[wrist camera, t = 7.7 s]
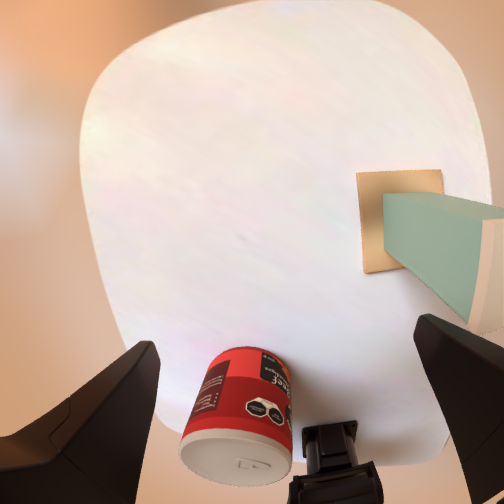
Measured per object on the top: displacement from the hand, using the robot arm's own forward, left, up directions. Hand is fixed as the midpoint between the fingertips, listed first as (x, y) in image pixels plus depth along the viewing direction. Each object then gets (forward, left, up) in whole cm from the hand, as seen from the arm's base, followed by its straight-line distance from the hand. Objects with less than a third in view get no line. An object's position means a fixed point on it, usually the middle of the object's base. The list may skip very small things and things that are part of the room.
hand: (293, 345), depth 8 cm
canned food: (-12, +5, -14) cm, 20 cm away
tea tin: (+1, -10, -13) cm, 17 cm away
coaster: (+1, -10, -14) cm, 18 cm away
